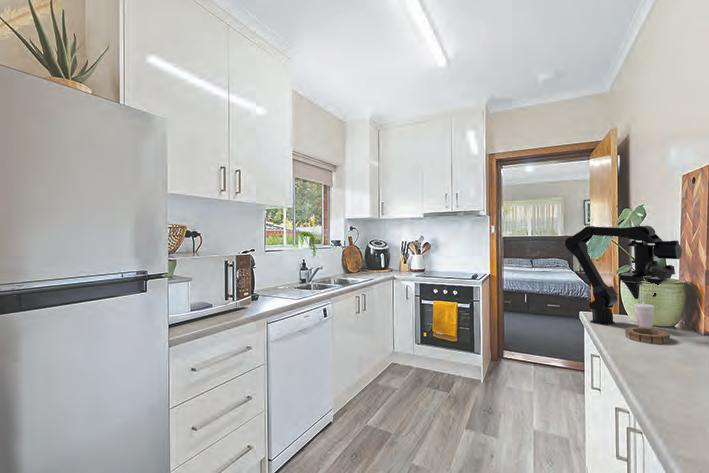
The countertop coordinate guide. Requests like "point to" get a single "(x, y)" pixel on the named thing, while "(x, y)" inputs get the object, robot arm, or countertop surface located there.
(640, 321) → the smoothie
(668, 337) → the walnut ring
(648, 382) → the countertop surface
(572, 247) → the robot arm
